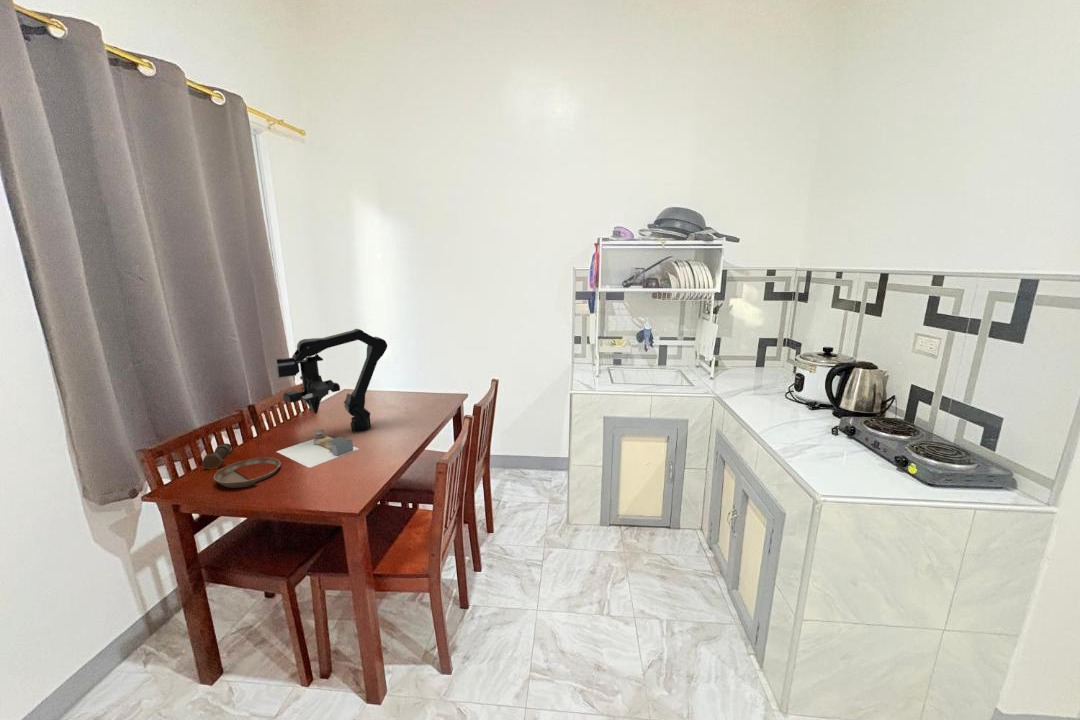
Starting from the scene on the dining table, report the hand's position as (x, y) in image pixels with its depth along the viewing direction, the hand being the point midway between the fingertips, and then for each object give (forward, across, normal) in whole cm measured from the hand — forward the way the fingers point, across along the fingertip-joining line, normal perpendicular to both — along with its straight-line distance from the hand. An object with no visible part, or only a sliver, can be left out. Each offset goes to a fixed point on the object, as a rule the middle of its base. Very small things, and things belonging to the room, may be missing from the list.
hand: (315, 413), depth 164 cm
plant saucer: (+12, -28, -10) cm, 32 cm away
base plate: (+11, -6, -10) cm, 16 cm away
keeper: (+10, -2, -18) cm, 21 cm away
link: (+10, -2, -10) cm, 14 cm away
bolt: (+12, -28, +12) cm, 33 cm away
